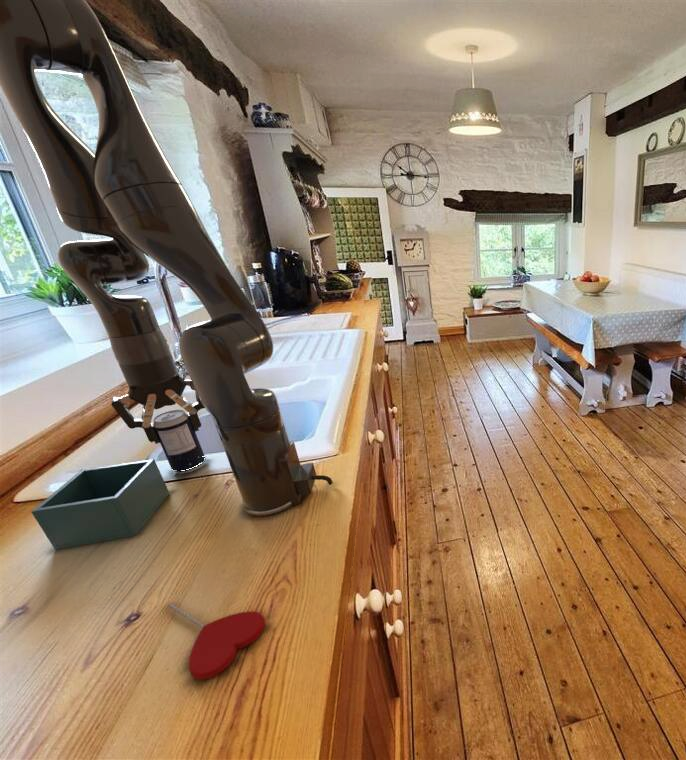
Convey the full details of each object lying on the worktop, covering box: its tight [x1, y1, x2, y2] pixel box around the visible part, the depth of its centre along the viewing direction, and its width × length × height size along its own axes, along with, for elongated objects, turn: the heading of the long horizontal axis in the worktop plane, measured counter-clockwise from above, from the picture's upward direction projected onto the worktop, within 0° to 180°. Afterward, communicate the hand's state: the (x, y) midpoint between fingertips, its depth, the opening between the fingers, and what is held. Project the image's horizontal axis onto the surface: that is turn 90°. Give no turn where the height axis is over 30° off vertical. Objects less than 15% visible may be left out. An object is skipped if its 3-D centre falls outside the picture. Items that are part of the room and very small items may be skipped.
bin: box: [30, 458, 170, 551], centre depth 69 cm, size 11×11×8 cm
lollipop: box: [166, 602, 266, 680], centre depth 51 cm, size 8×1×15 cm
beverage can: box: [152, 409, 206, 474], centre depth 81 cm, size 6×6×12 cm
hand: (177, 435), depth 81 cm, fingers closed on beverage can, 5 cm apart
